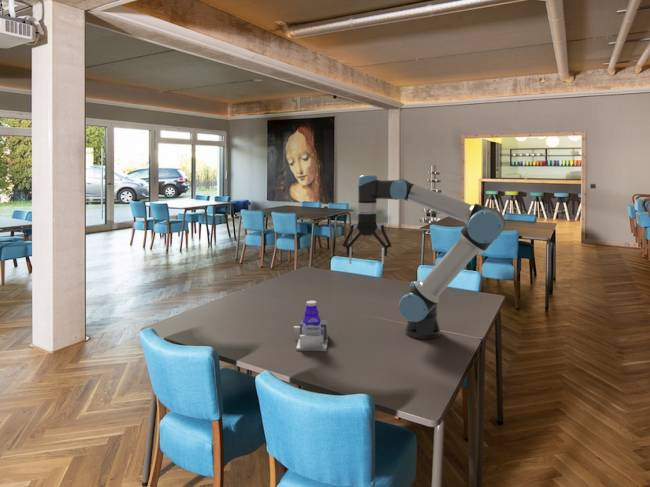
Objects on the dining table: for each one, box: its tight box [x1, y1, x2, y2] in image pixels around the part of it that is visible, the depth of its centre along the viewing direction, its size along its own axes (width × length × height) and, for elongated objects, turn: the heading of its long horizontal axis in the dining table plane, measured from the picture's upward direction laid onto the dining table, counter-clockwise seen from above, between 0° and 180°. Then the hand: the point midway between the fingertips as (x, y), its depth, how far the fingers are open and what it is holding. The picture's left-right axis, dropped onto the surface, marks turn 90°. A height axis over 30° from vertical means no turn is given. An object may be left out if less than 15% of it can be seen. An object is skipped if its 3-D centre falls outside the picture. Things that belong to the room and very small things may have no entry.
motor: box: [293, 319, 329, 340], centre depth 205 cm, size 14×6×7 cm, turn 88°
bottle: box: [302, 300, 322, 335], centre depth 195 cm, size 7×6×17 cm
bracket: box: [295, 327, 329, 352], centre depth 196 cm, size 12×11×6 cm
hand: (366, 263), depth 204 cm, fingers open, 13 cm apart
